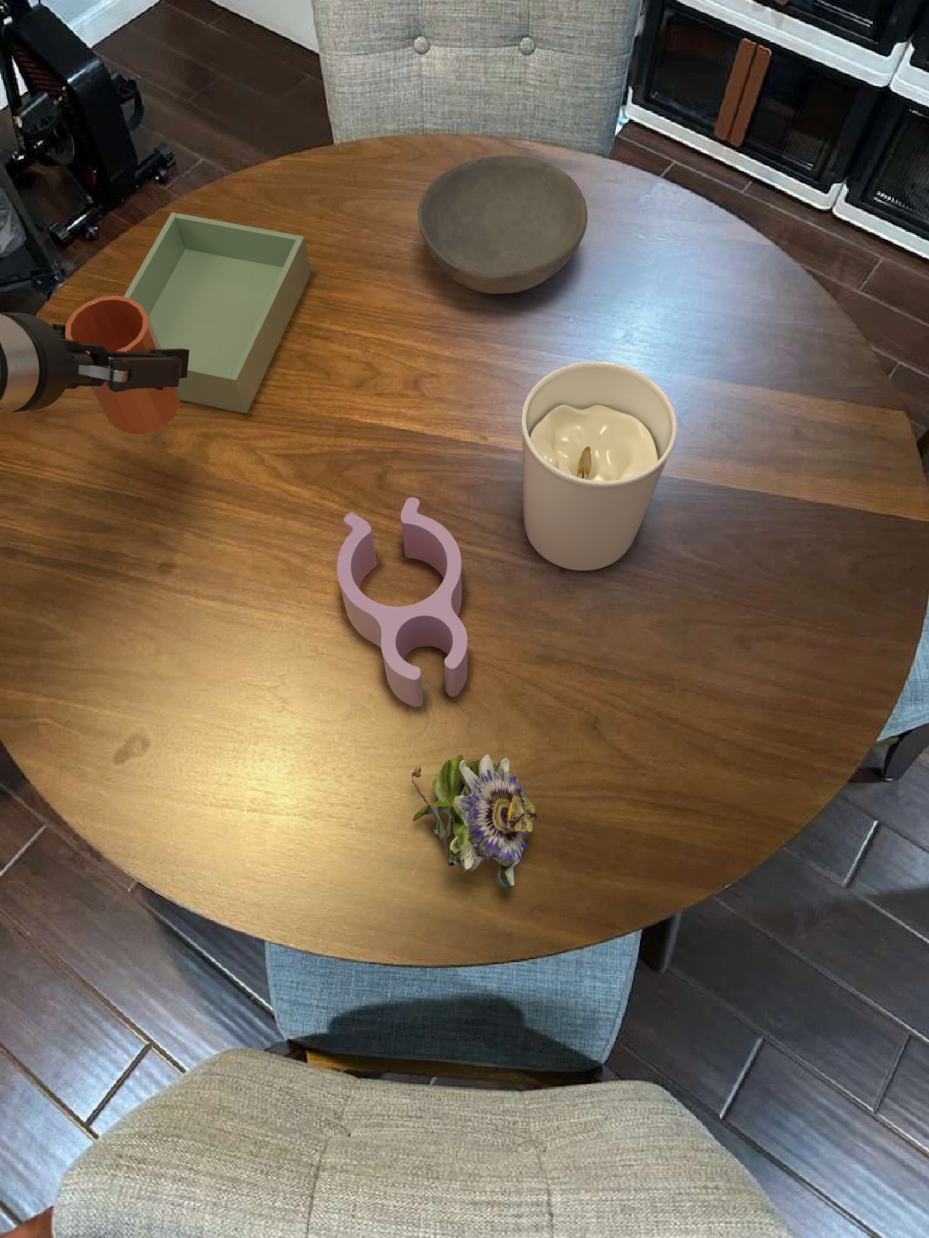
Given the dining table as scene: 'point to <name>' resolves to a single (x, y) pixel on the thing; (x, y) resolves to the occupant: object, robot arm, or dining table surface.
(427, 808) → the passion flower
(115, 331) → the cup
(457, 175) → the bowl
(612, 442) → the candle holder
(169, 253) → the green tray
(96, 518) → the dining table surface
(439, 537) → the clip
